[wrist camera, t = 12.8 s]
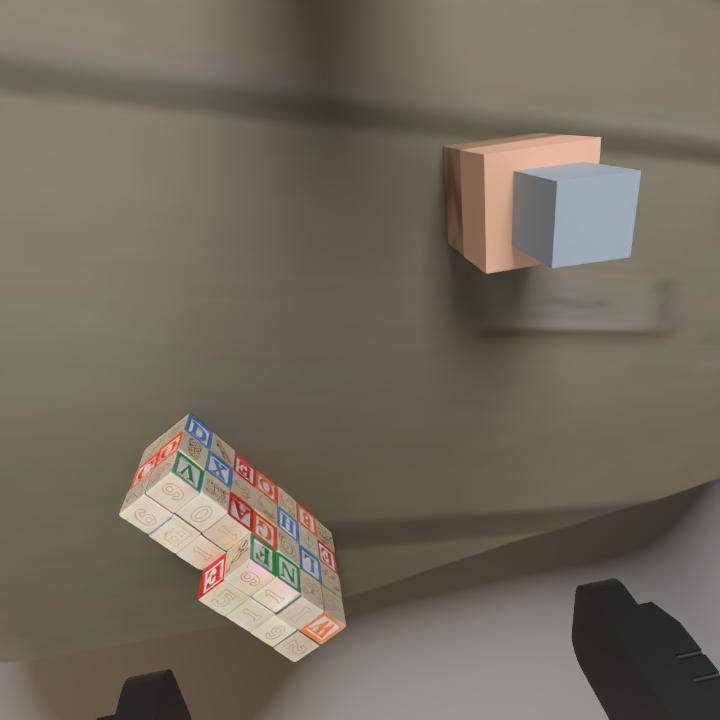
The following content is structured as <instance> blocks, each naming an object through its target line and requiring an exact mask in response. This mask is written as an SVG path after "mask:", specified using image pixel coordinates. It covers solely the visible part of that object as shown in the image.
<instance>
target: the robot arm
mask: <svg viewBox="0 0 720 720" xmlns="http://www.w3.org/2000/svg"><path fill="white" fill-rule="evenodd" d="M572 642H573V647H574V651H575V654H576V657H577V660H578V662H579V665H580V667H581V669H582V671H583V673H584V674H585V676H586V678H587V680H588V682H589V683H590V685H591V687H592V689H593V691H594V692H595V694H596V696H597V698H598V699H599V701H600V703H601V705H602V707H603V709H604V710H605V712H606V714H607V716H608V718H609V719H610V720H720V675H719V671H718V670H717V669H716V667H715V666H714V665H713V664H712V662H711V661H710V660H709V658H708V657H707V656H706V655H703V654H702V652H701V649H700V647H699V646H698V645H697V643H696V642H695V641H694V640H693V638H692V637H691V636H690V635H689V633H688V632H687V631H686V630H685V628H684V627H683V626H682V625H681V623H680V622H678V621H677V620H676V619H674V618H673V617H672V616H670V615H669V614H668V613H666V612H665V611H664V610H662V609H661V608H659V607H658V606H657V605H655V604H654V603H653V602H649V603H643V604H639V605H638V604H637V602H636V601H635V600H634V598H633V597H632V596H631V594H630V593H629V592H628V590H627V589H626V587H625V586H624V585H623V584H622V583H621V582H620V581H618V580H617V579H608V580H603V581H598V582H594V583H589V584H584V585H579V586H578V587H577V588H576V594H575V605H574V615H573V626H572ZM97 720H192V719H191V716H190V713H189V710H188V708H187V706H186V703H185V701H184V698H183V696H182V693H181V691H180V689H179V686H178V684H177V682H176V679H175V677H174V674H173V673H172V671H171V670H170V669H169V670H163V671H158V672H153V673H149V674H144V675H139V676H134V677H130V678H128V679H127V680H126V681H125V683H124V685H123V688H122V691H121V695H120V698H119V702H118V706H117V710H116V714H115V715H110V716H106V717H101V718H97Z"/></svg>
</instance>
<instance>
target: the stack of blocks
mask: <svg viewBox="0 0 720 720" xmlns="http://www.w3.org/2000/svg"><path fill="white" fill-rule="evenodd" d="M119 515H120V516H121V517H122V518H123V519H125V520H127V521H128V522H130V523H131V524H133V525H134V526H136V527H137V528H139V529H140V530H142V531H143V532H145V533H147V534H149V536H150V537H151V538H152V539H154V540H155V541H157V542H158V543H160V544H161V545H163V546H164V547H166V548H167V549H169V550H170V551H172V552H173V553H176V554H177V555H178V556H179V557H180V558H182V559H183V560H185V561H186V562H188V563H190V564H191V565H193V566H194V567H196V568H197V569H200V570H203V572H202V575H201V583H200V589H199V596H198V600H199V601H201V602H202V603H204V604H205V605H207V606H208V607H210V608H212V609H213V610H215V611H216V612H218V613H220V614H221V615H223V616H226V617H227V618H228V619H230V620H231V621H233V622H234V623H236V624H238V625H240V626H241V627H242V628H244V629H246V630H247V631H250V633H251V634H253V635H254V636H256V637H258V638H259V639H260V640H262V641H264V642H265V643H267V644H268V645H270V646H272V647H274V649H275V650H276V651H278V652H279V653H281V654H283V655H284V656H286V657H287V658H289V659H290V660H292V661H293V662H297V661H298V660H299V659H301V658H302V657H303V656H305V655H307V654H308V653H310V652H311V651H313V650H314V649H316V648H317V647H319V644H322V643H324V642H326V641H327V640H328V639H330V638H331V637H332V636H334V635H335V634H337V633H338V632H339V631H341V630H342V629H344V628H345V627H346V622H345V616H344V610H343V604H342V595H341V589H340V582H339V576H338V573H337V566H336V560H335V555H334V552H335V549H334V543H333V538H332V533H331V532H330V531H329V530H327V529H326V528H325V527H324V526H323V525H322V524H320V523H319V522H318V521H317V520H316V519H315V518H314V517H313V516H312V515H311V514H310V513H309V512H308V511H306V510H305V509H304V508H303V507H302V506H301V505H299V504H298V503H297V502H296V501H295V500H294V499H292V498H291V497H290V496H289V495H288V494H287V493H286V492H284V491H283V490H282V489H281V488H280V487H278V486H275V485H274V484H273V483H272V482H271V481H270V480H268V479H267V478H266V477H265V476H264V475H262V474H261V473H260V472H259V471H258V470H255V469H254V468H253V467H252V466H251V465H250V464H249V463H248V462H246V461H245V460H244V459H243V458H242V457H240V456H239V455H238V454H237V453H235V450H234V449H232V448H231V447H230V446H229V445H228V444H226V443H225V442H224V441H223V440H222V439H221V438H219V437H218V436H217V435H216V434H214V433H213V432H212V431H211V430H210V429H208V428H207V427H206V426H205V425H204V424H202V423H201V422H200V421H199V420H198V419H196V418H195V417H194V416H193V415H192V414H190V413H189V414H188V415H186V416H185V417H184V418H183V419H182V420H180V421H179V422H178V423H177V424H176V425H174V426H173V427H172V428H171V429H169V430H168V431H167V432H165V433H164V434H163V435H162V436H160V437H159V438H158V439H157V440H156V441H154V442H153V443H152V444H151V445H150V446H149V447H148V448H147V449H145V451H144V453H143V456H142V459H141V462H140V464H139V468H138V469H137V471H136V474H135V476H134V479H133V482H132V485H131V488H130V490H129V491H128V493H127V495H126V498H125V501H124V503H123V506H122V508H121V511H120V514H119Z"/></svg>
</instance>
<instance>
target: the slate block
mask: <svg viewBox="0 0 720 720" xmlns="http://www.w3.org/2000/svg"><path fill="white" fill-rule="evenodd" d="M640 175H641V171H640V170H634V169H627V168H621V167H615V166H609V165H602V164H596V163H590V162H580V163H572V164H564V165H556V166H548V167H540V168H532V169H524V170H515V171H514V178H513V216H512V246H513V247H515V248H517V249H519V250H520V251H522V252H524V253H526V254H528V255H529V256H531V257H533V258H535V259H536V260H538V261H540V262H542V263H544V264H545V265H547V266H549V267H551V268H557V267H564V266H571V265H578V264H585V263H592V262H599V261H606V260H613V259H620V258H627V257H630V255H631V247H632V239H633V231H634V223H635V215H636V207H637V199H638V191H639V183H640Z"/></svg>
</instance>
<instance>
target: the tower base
mask: <svg viewBox="0 0 720 720" xmlns="http://www.w3.org/2000/svg"><path fill="white" fill-rule="evenodd" d="M553 136H560V135H559V134H545V133H533V134H526V135H519V136H512V137H505V138H498V139H491V140H484V141H477V142H470V143H463V144H456V145H449V146H443V158H444V178H445V198H446V219H447V239H448V244H449V245H450V246H452V247H453V248H455V249H456V250H457V251H459V252H460V253H461V254H463V255H464V248H463V222H462V195H461V168H460V150H463V149H470V148H477V147H484V146H491V145H497V144H504V143H511V142H518V141H525V140H532V139H539V138H546V137H553Z"/></svg>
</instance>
